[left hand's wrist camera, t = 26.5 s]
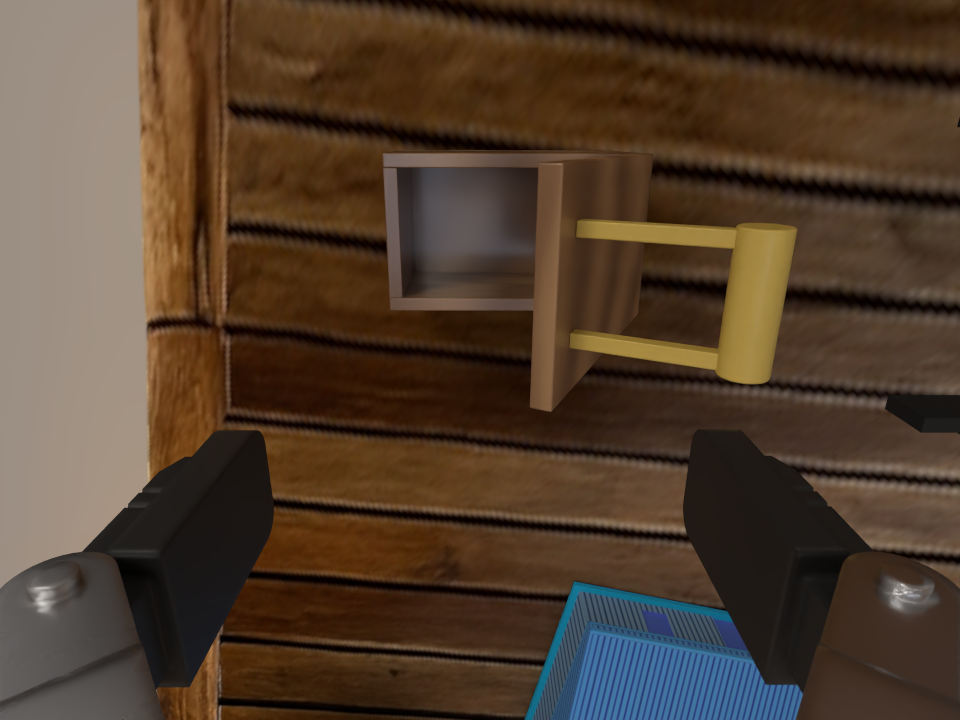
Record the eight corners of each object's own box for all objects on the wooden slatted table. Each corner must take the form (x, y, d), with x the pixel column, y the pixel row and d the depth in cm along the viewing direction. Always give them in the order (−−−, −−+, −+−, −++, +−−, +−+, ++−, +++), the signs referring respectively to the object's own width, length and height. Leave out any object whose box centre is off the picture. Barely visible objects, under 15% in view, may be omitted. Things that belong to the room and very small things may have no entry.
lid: (529, 408, 26) (758, 454, 22) (537, 162, 22) (811, 167, 19) (622, 312, 40) (771, 330, 36) (636, 153, 37) (802, 155, 33)
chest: (405, 280, 49) (389, 310, 40) (400, 150, 45) (381, 152, 37) (602, 281, 49) (628, 311, 40) (612, 150, 45) (643, 153, 37)
